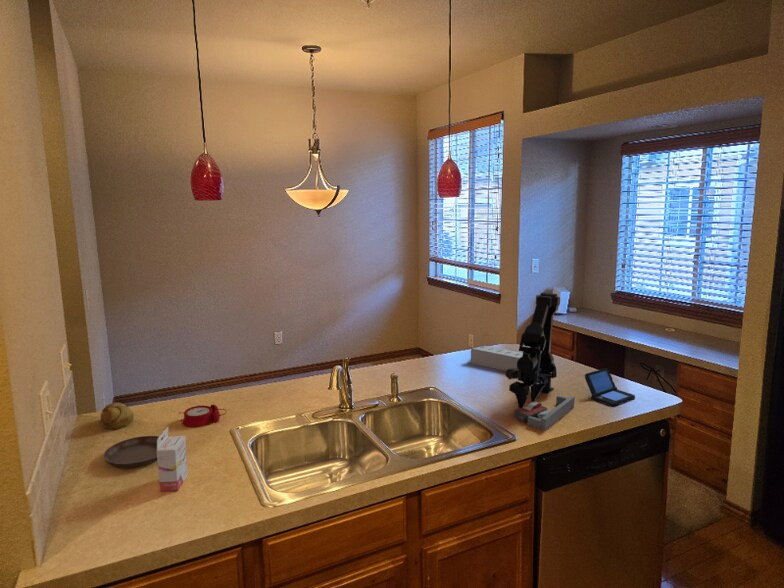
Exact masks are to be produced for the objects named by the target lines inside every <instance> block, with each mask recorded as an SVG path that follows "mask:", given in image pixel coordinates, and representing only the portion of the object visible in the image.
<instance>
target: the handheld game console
mask: <svg viewBox="0 0 784 588" xmlns="http://www.w3.org/2000/svg"><path fill="white" fill-rule="evenodd" d="M584 379H585V382H586V384H587V386H588V390H589V391H590V393H591V400H593V401H597V402H600V403H602V404H603V405H604V404H605V405H608V406H611V407H615V406H619V405H621V404H624V403H626V402H630V401H632V400H634V399H635V398H636V396H635V395H634V394H633V393H629V392H627V391H623V390H621V389H618V387H617V386H616V383H615V382H614V381H613V377H612V375H611V372H610V370H609V369H608V368H606V367H604V368H601V369H597V370H594V371H591V372H587V373H585V374H584Z"/></svg>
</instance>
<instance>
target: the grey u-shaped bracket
mask: <svg viewBox="0 0 784 588" xmlns="http://www.w3.org/2000/svg"><path fill="white" fill-rule="evenodd" d="M575 398H576V397H575V396H573V395H570V396H568V397H567V396H563V395H560V394H558V395H556V401H555V404H556V405H557V406H555V407H554V408H552V409H551V410H549V411H550V412H549V413H548V414H546V415H545V416H544V417H542V418H541V419H539V418H535V417H532V416H529V417H528V423H527V424H526V425H527V426H528V427H531V428H535V429H538V430H540V431H544V432H545V431H546V430H548V429H549V428H550V427H551V426H553V425H554V424H555V423H556V422H558V421H559V420H560V419H561V418H562V417H564V416H565V415H566V414H568V412H569V411H571V410H572V409H574V407H575ZM563 415H564V416H563Z"/></svg>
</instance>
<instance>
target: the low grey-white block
mask: <svg viewBox="0 0 784 588" xmlns="http://www.w3.org/2000/svg"><path fill="white" fill-rule="evenodd" d="M522 355H523V352H522V351H517V350H516V351H515V350H510V349H505V348H500V347H494V346H490V345H489V346H488V345H481V346H477V347H472V348H470V364H471V365H472V364H473V365H478V366H482V367H486V366H487V368H491V367H492V369H495V368H496V369H495V370H500V369H501V371H505V372H506V371H507V369H513V368H517V362H518V360H519V359H520V358H521V357H522Z"/></svg>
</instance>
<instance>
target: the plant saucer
mask: <svg viewBox="0 0 784 588" xmlns="http://www.w3.org/2000/svg"><path fill="white" fill-rule="evenodd" d="M159 436H160V435H158V436H157V435H144V436H143V435H141V436H136V437H132V438H128V439H127V438H126V439H124V440H121V441H119V442H117V443H115V444H113V445H111V446H109V447H108V448H107V449H106V450H105V451H104V454H103V458H104V461H106V463H107V464H109V465H111V466H112V467H114V468H117V469H122V470H130V469H131V470H133V469H134V470H135V469H139V468H143V467H147V466H149V465H152V464H153V463H156V462H158V461H157V439H158V438H159ZM163 438H164V436H163V437H162V439H163ZM162 439H161V440H162Z"/></svg>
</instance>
